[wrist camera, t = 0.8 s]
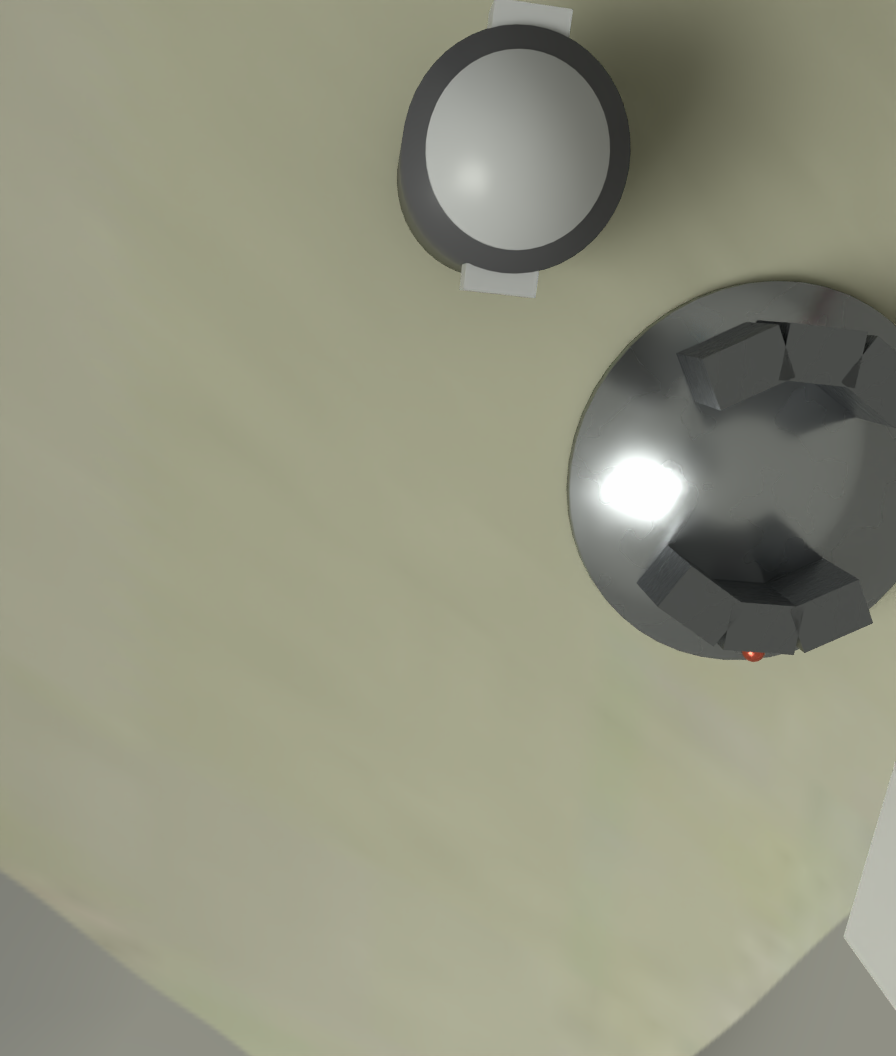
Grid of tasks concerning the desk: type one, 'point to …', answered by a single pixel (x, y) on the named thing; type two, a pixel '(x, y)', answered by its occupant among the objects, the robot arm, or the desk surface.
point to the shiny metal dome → (743, 472)
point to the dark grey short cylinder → (513, 151)
